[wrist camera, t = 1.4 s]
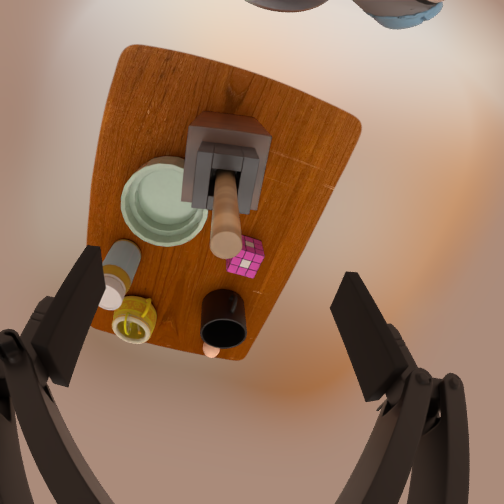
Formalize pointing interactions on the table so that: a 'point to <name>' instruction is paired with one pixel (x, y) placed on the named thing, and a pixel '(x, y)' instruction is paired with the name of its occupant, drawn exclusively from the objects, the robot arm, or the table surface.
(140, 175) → the bowl
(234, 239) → the stirring stick
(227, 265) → the puzzle toy
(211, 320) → the mug
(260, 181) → the utensil stand
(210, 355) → the egg
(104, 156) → the table surface
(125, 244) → the bottle
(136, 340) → the mug
